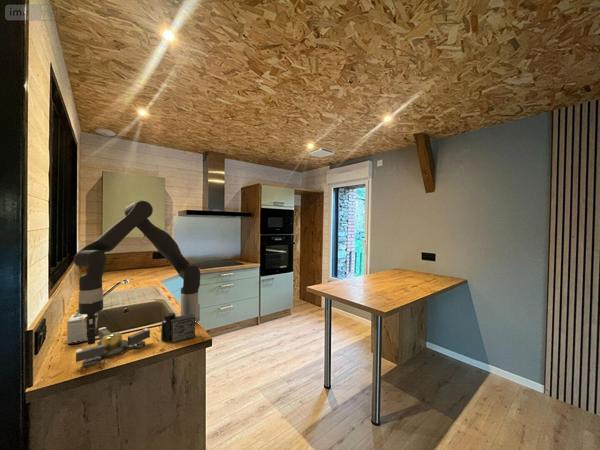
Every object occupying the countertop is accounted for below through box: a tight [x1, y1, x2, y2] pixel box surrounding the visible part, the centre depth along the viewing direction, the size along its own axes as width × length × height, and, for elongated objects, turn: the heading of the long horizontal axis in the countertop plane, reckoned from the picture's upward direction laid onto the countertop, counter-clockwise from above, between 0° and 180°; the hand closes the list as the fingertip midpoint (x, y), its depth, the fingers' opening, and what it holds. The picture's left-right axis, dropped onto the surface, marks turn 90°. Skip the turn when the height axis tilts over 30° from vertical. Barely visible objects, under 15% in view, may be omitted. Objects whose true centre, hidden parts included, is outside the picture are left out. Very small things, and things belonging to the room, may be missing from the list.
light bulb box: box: [66, 313, 88, 345], centre depth 119 cm, size 11×7×11 cm, turn 35°
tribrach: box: [81, 332, 146, 368], centre depth 108 cm, size 22×21×7 cm
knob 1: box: [75, 344, 104, 363], centre depth 98 cm, size 9×2×5 cm, turn 130°
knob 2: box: [127, 327, 151, 345], centre depth 112 cm, size 9×2×5 cm, turn 158°
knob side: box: [98, 326, 112, 342], centre depth 114 cm, size 9×2×5 cm, turn 54°
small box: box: [170, 314, 196, 344], centre depth 120 cm, size 11×6×10 cm, turn 124°
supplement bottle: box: [160, 312, 176, 343], centre depth 119 cm, size 7×7×12 cm
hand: (91, 339), depth 98 cm, fingers open, 8 cm apart
